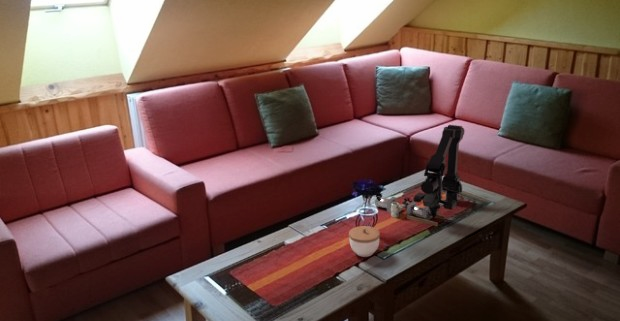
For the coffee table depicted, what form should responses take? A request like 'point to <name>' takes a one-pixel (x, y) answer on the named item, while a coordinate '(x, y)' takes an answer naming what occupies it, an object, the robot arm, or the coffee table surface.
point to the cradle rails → (426, 220)
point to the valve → (398, 207)
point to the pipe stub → (385, 203)
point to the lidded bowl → (364, 240)
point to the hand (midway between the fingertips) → (434, 217)
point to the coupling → (418, 211)
